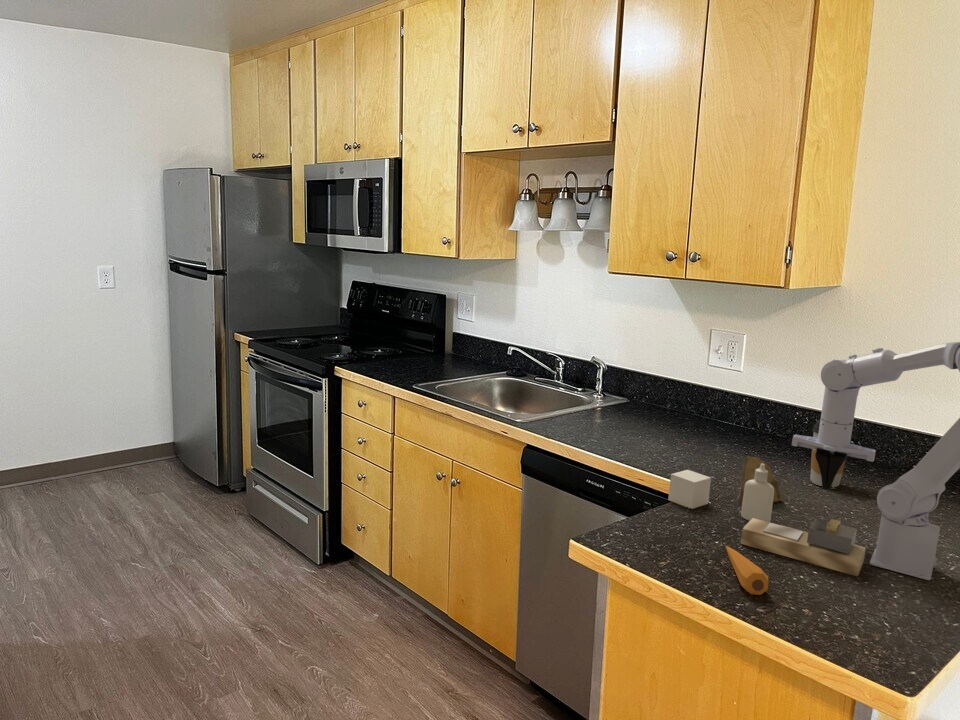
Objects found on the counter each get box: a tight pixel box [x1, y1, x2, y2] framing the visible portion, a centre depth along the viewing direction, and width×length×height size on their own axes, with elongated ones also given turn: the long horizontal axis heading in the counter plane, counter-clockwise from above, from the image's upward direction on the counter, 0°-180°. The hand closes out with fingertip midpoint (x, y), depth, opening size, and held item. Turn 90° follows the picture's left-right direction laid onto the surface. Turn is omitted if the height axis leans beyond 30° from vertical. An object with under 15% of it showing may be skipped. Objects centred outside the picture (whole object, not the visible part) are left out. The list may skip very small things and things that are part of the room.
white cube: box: [667, 469, 712, 510], centre depth 159 cm, size 6×6×6 cm
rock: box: [738, 456, 783, 506], centre depth 162 cm, size 11×9×10 cm
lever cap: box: [807, 518, 858, 554], centre depth 133 cm, size 7×6×4 cm
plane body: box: [740, 518, 867, 577], centre depth 136 cm, size 20×7×3 cm, turn 56°
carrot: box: [725, 545, 769, 596], centre depth 128 cm, size 20×4×4 cm, turn 176°
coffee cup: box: [809, 419, 846, 488], centre depth 176 cm, size 8×8×15 cm
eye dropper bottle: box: [740, 464, 774, 523], centre depth 150 cm, size 4×6×12 cm
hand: (826, 488), depth 145 cm, fingers closed
